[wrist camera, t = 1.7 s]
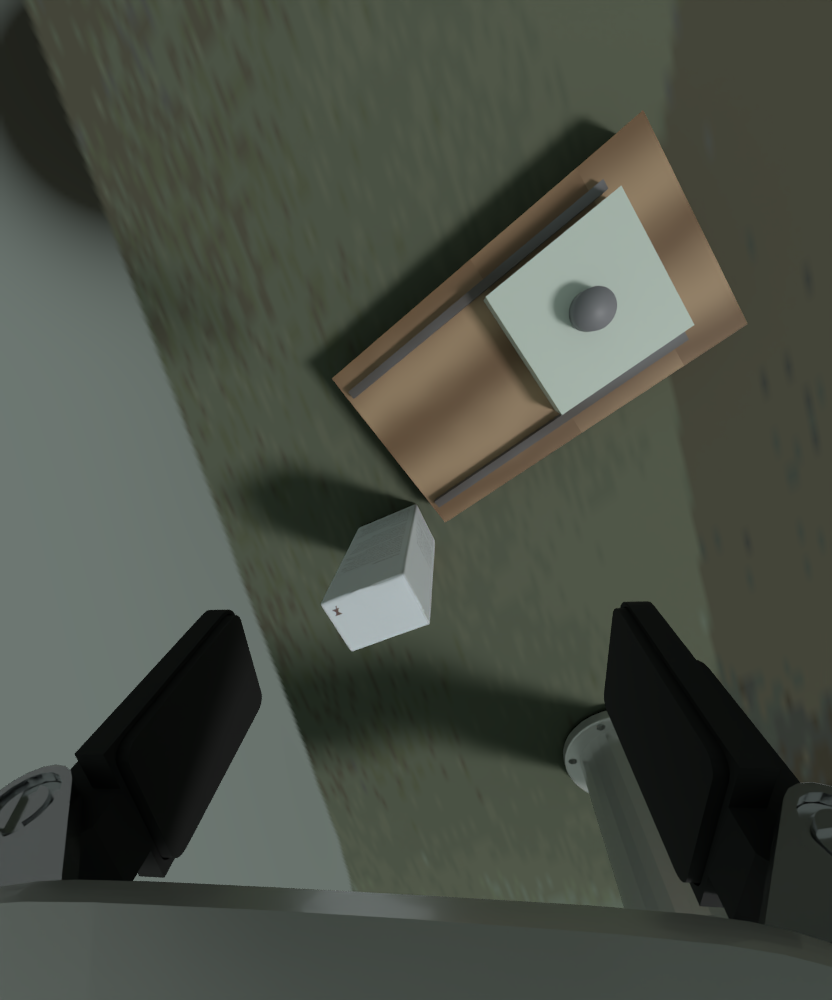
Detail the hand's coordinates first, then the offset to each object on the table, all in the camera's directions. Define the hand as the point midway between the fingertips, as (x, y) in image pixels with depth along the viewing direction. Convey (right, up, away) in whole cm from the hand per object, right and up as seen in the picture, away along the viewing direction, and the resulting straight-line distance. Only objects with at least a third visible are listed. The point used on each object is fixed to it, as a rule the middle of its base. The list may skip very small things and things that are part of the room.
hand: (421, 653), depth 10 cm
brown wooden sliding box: (+8, +15, +20) cm, 26 cm away
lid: (+11, +16, +16) cm, 25 cm away
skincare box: (-2, +1, +27) cm, 27 cm away
